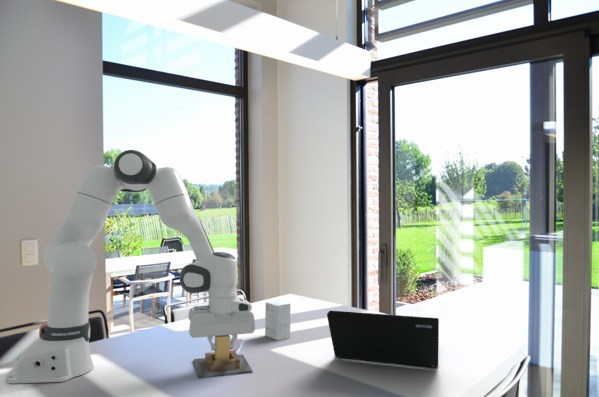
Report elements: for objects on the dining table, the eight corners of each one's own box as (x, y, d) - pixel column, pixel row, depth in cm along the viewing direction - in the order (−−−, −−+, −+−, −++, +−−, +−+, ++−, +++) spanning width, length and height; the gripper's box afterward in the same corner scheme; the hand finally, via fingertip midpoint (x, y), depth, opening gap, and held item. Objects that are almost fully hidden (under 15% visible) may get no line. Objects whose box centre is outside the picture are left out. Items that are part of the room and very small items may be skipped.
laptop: (438, 347, 166) (438, 293, 166) (439, 387, 130) (439, 318, 130) (347, 338, 175) (347, 287, 175) (324, 373, 139) (325, 309, 139)
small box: (290, 337, 174) (291, 303, 174) (277, 340, 170) (277, 305, 170) (277, 333, 180) (278, 299, 180) (264, 335, 176) (265, 301, 176)
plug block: (216, 363, 140) (216, 337, 140) (214, 359, 144) (214, 333, 144) (229, 362, 142) (229, 336, 142) (227, 358, 145) (227, 332, 145)
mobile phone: (244, 338, 170) (237, 351, 155) (244, 341, 170) (237, 354, 155) (224, 338, 170) (215, 351, 155) (224, 340, 170) (215, 354, 155)
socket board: (198, 378, 133) (198, 367, 133) (193, 360, 147) (193, 351, 147) (252, 372, 138) (252, 362, 138) (242, 356, 152) (242, 346, 152)
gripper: (189, 309, 137) (188, 355, 137) (256, 305, 143) (255, 349, 143) (187, 304, 143) (187, 348, 143) (252, 300, 149) (251, 343, 149)
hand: (222, 349), depth 143 cm, fingers closed on plug block, 4 cm apart
